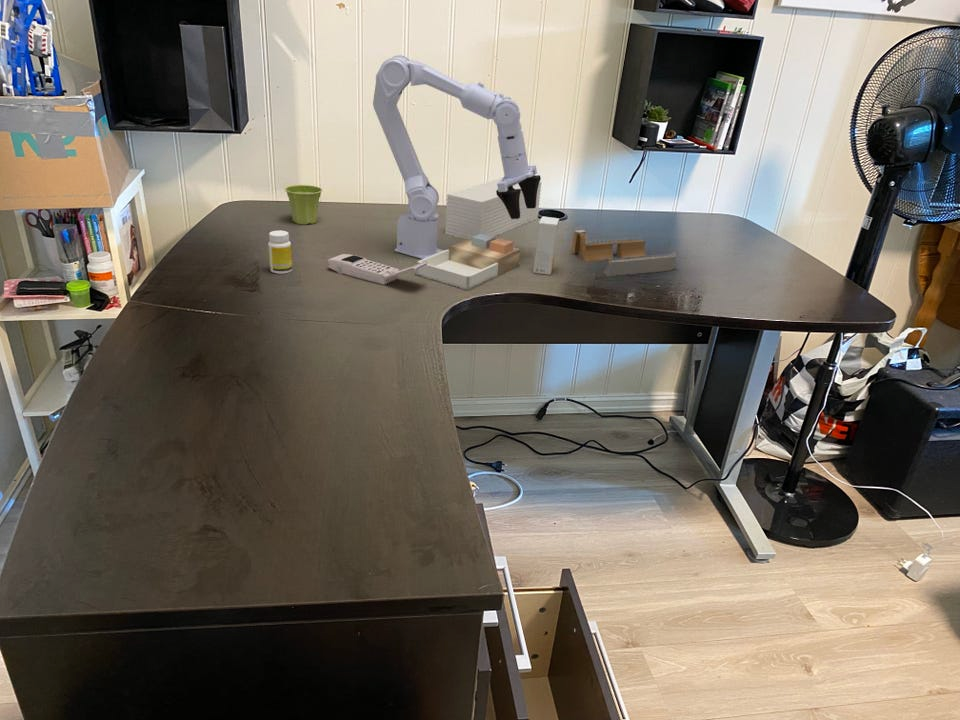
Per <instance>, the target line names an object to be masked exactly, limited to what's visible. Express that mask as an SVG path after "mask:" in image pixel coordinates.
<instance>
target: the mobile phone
mask: <svg viewBox="0 0 960 720" xmlns="http://www.w3.org/2000/svg"><path fill="white" fill-rule="evenodd" d="M327 263H328V264H327V266H328V268H329V269H331V270H333V271H335V272H337V273H338V274H339V275H342V274H343V275H346V276H349V277H354V278H356V279H357V278H358V279H361V280H365V281H367V282H372V283H375V284H379V285H383V286H385V284H386V285H388V284H390V283H391V281H392V282H394V281H396V280H397V279H398V277H399V276H401V275H403V274H407V273H410V272H412V271H416V269H418V268H420V267H422V266H424V265H427V264H428V261H426V262H423V263H420V264H417V265H416V264H415V265H412V266H410V267H409V266H408V267H406V268H403V269H399V268H395V267H393V266H389V265H386V264H383V263H380V262H376V261H373V260H369V259H367V258H365V257H364V256H360V255H354V254H349V253H348V254H347V253H342V254H339V255H337V256H334V257H331V258H328V261H327ZM395 279H396V280H395ZM393 280H394V281H393ZM389 282H390V283H389ZM387 283H388V284H387Z"/></svg>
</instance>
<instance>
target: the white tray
mask: <svg viewBox="0 0 960 720" xmlns="http://www.w3.org/2000/svg"><path fill="white" fill-rule="evenodd" d="M426 261H428V264H427V265H424V266H422V267H420V268H418V269H415V275H416V276H419V275H420V276H419V277H423V278H426V279H428V280H432V279H433V281H435V280H436V281H435V282H438V281H439V283H442V284H445V283H446V284H445V285H448V284H450V285H449V286H452V285H453V287H455V286H456V288H458V287H459V288H458V289H462V290H465V289H466V290H465V291H469V289H470V290H472V289H474V288H476V287H478V286H480V285H483V284H484V283H486V282H488V281H490V280H492V279H494V278H496V277H498V276H497V273H498V263H495V264H492V265H490V266H488V267H486V268H484V269H478V268H475V267H471V266H468V265H464V264H461V263H457V262H453V261H450V249H445V250H444V251H442V252H440V253H437V254H435V255H432V256H430V257H427V258H425V259H420V260H417V261H416V262H415V265H417V264H420V263H423V262H426ZM495 276H496V277H495ZM493 277H494V278H493ZM491 278H492V279H491ZM485 281H486V282H485ZM483 282H484V283H483ZM479 284H480V285H479Z"/></svg>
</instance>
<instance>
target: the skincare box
mask: <svg viewBox="0 0 960 720" xmlns="http://www.w3.org/2000/svg"><path fill="white" fill-rule="evenodd" d="M559 223H560V218H557V217H552V216H551V217H549V216H543V215H542V217H541V218H540V219H539V222H538V227H537V234H536V235H537V237H536V242H535V243H536V244H535V253H534V259H533V260H534V261H533V268H532V269H533V270H532V272H533V274H541V275H550V276H551V275H552V271H553V268H554V262H555V255H556V248H557V239H558V233H559Z"/></svg>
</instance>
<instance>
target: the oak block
mask: <svg viewBox="0 0 960 720" xmlns="http://www.w3.org/2000/svg"><path fill="white" fill-rule="evenodd" d="M471 242H472V238H471V239H468V240H467V239H465V240H464V241H461V242H459V243H456V244H454V245H451V246H450V257H449V260H450V261H453V262H457V263H461V264H464V265H468V266H471V267H475V268H478V269H484V268H486V267H488V266H490V265H492V264H495V263H498V273H497V276H496V277H498V276H500V275H502V274H504V273H506V272H508V271H510V270H512V268H513V269H514V267H515V268H517V267H519V266H520V260H521V250H522V249H521V248H518V247H514V246H513V250H512V251H510V252H507V253H505V254H502V253H498V252H495V251H491V250H489V248H487V249H483V248H480V247H476V246H472V245H471Z"/></svg>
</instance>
